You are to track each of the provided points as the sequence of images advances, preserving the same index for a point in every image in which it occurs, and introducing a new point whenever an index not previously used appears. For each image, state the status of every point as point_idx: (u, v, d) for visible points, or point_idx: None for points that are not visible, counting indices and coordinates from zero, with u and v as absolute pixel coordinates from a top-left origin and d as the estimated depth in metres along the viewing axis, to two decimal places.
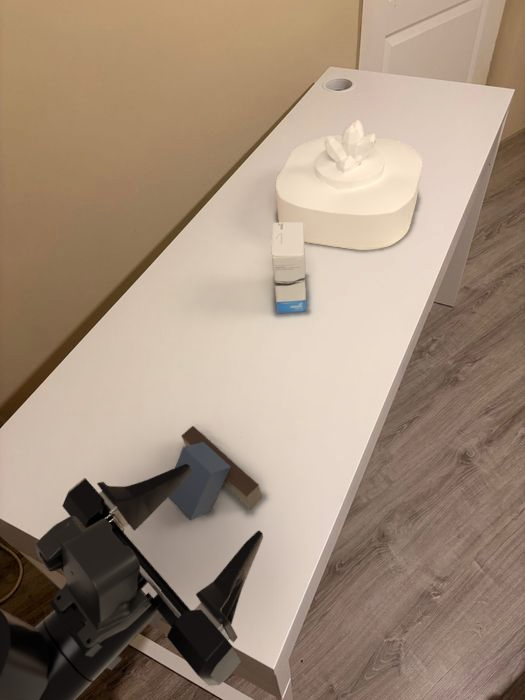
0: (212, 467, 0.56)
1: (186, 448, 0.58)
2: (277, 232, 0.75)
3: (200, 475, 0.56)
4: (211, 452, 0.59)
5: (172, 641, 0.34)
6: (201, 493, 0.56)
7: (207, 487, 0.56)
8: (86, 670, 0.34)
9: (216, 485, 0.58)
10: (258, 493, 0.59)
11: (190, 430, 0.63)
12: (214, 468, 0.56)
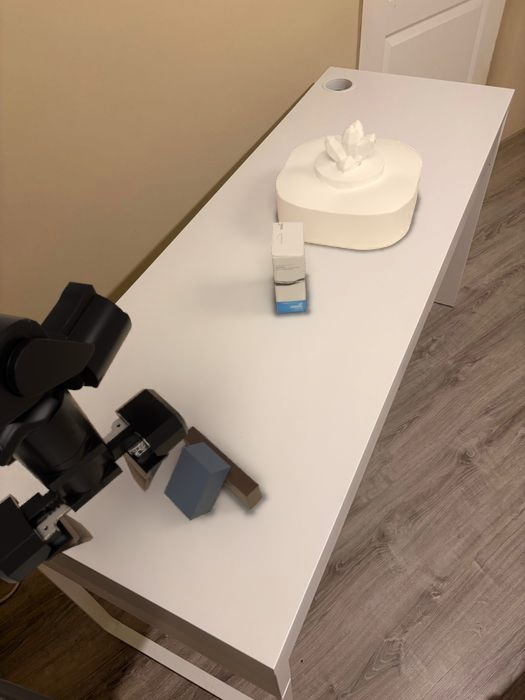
0: (212, 467, 0.56)
1: (186, 448, 0.58)
2: (277, 232, 0.75)
3: (200, 475, 0.56)
4: (211, 452, 0.59)
5: (121, 407, 0.46)
6: (201, 493, 0.56)
7: (207, 487, 0.56)
8: None
9: (216, 485, 0.58)
10: (258, 493, 0.59)
11: (190, 430, 0.63)
12: (214, 468, 0.56)
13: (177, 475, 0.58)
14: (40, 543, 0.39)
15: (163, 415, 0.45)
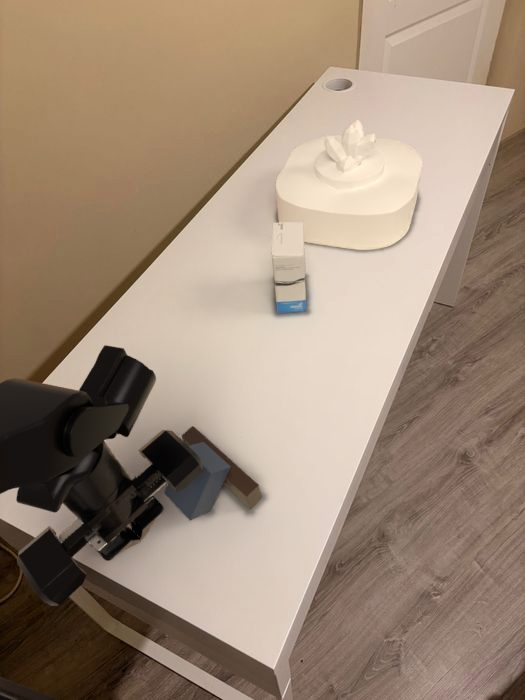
0: (212, 467, 0.56)
1: None
2: (277, 232, 0.75)
3: (200, 475, 0.56)
4: (211, 452, 0.59)
5: (144, 447, 0.52)
6: (201, 493, 0.56)
7: (207, 487, 0.56)
8: None
9: (216, 485, 0.58)
10: (258, 493, 0.59)
11: (190, 430, 0.63)
12: (214, 468, 0.56)
13: None
14: (78, 571, 0.45)
15: (182, 455, 0.51)
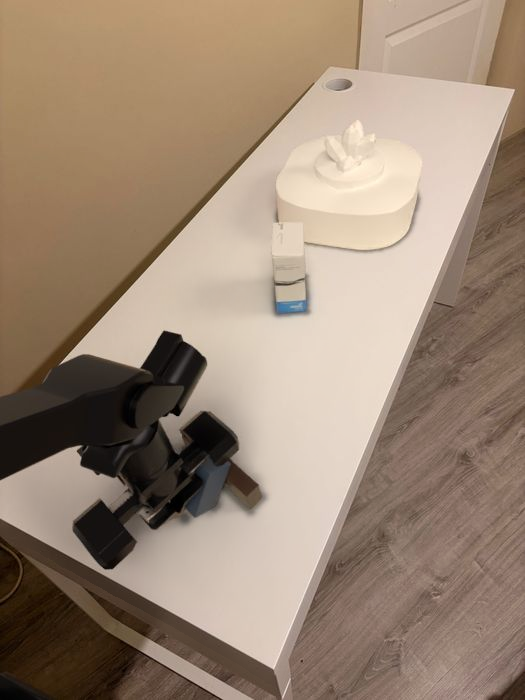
0: (211, 467, 0.56)
1: None
2: (277, 232, 0.75)
3: (200, 475, 0.56)
4: None
5: (185, 426, 0.56)
6: (202, 493, 0.56)
7: (208, 486, 0.56)
8: None
9: (217, 483, 0.58)
10: (258, 493, 0.59)
11: None
12: (214, 468, 0.56)
13: None
14: (130, 538, 0.49)
15: (221, 433, 0.54)
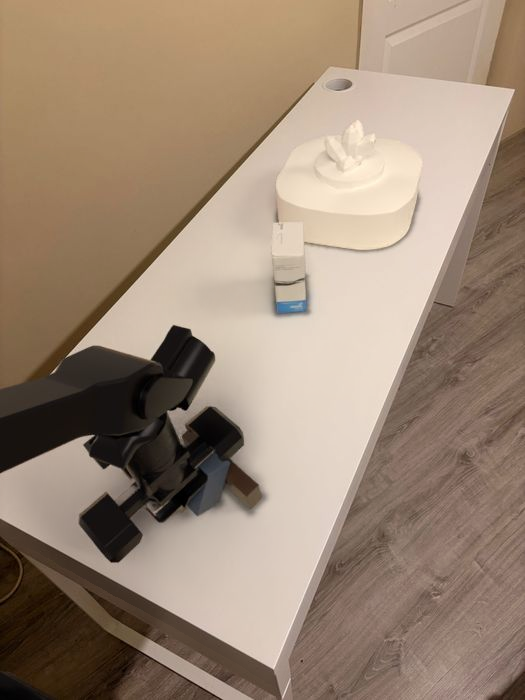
0: (210, 467, 0.56)
1: None
2: (277, 232, 0.75)
3: None
4: None
5: (191, 421, 0.56)
6: (202, 493, 0.56)
7: (208, 486, 0.56)
8: None
9: (218, 481, 0.58)
10: (258, 493, 0.59)
11: None
12: (212, 468, 0.56)
13: None
14: (136, 531, 0.49)
15: (227, 428, 0.55)
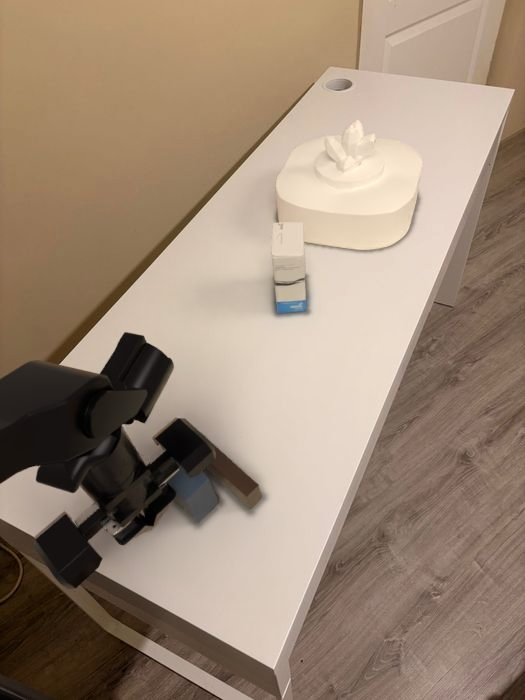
0: (188, 490, 0.55)
1: None
2: (277, 232, 0.75)
3: (181, 498, 0.56)
4: None
5: (158, 434, 0.52)
6: (190, 510, 0.57)
7: (193, 505, 0.56)
8: None
9: (204, 495, 0.57)
10: (258, 493, 0.59)
11: None
12: (190, 491, 0.55)
13: None
14: (94, 554, 0.46)
15: (195, 442, 0.51)
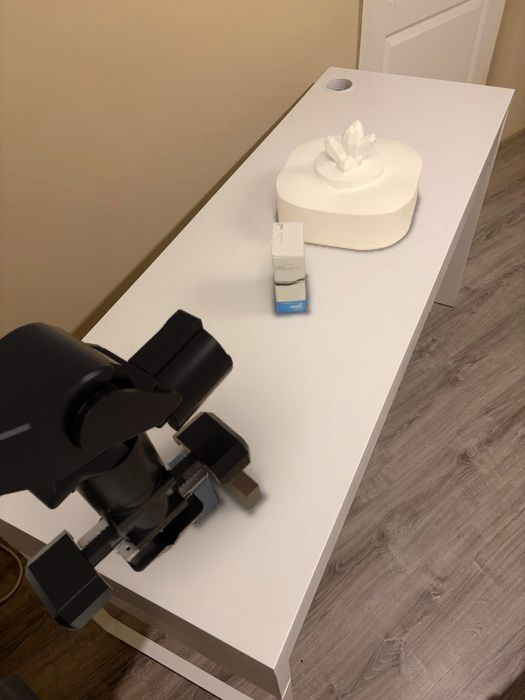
0: None
1: None
2: (277, 232, 0.75)
3: None
4: None
5: (180, 432, 0.42)
6: None
7: None
8: None
9: (204, 495, 0.57)
10: (258, 493, 0.59)
11: None
12: None
13: None
14: (103, 586, 0.36)
15: (227, 441, 0.41)
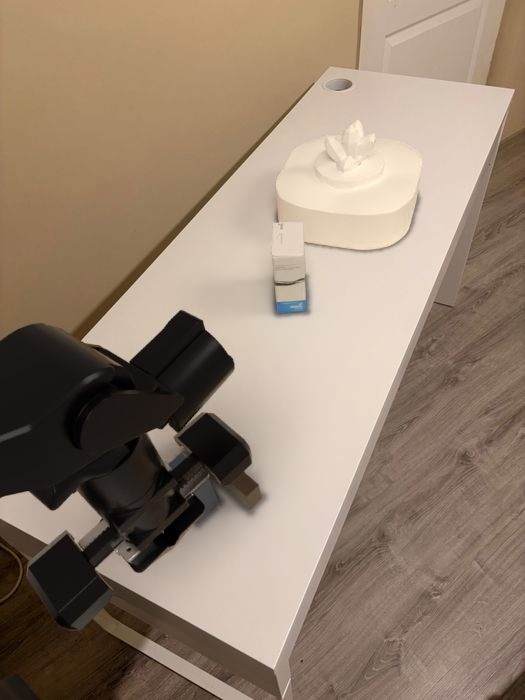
0: None
1: None
2: (277, 232, 0.75)
3: None
4: None
5: (181, 433, 0.42)
6: None
7: None
8: None
9: (204, 495, 0.57)
10: (258, 493, 0.59)
11: None
12: None
13: None
14: (104, 587, 0.35)
15: (229, 442, 0.41)
